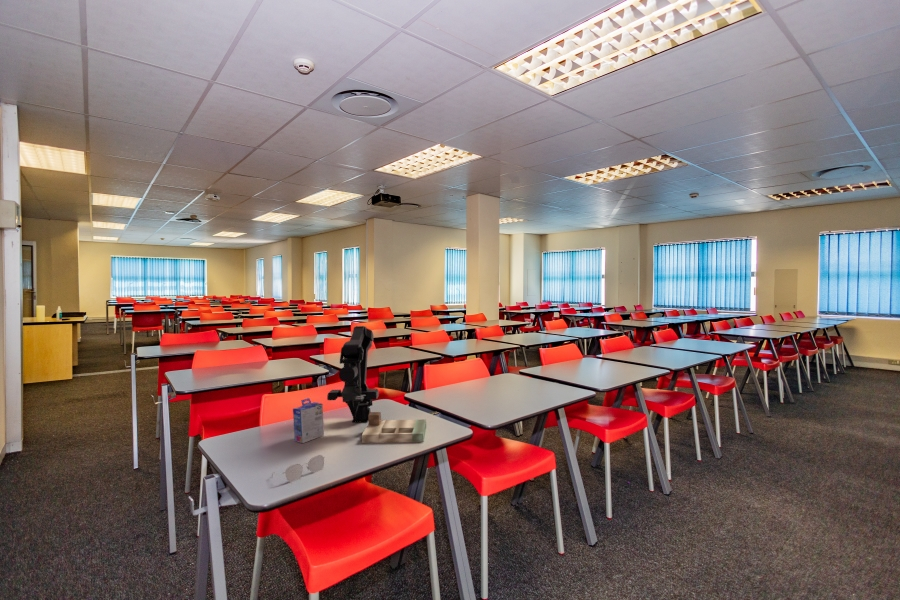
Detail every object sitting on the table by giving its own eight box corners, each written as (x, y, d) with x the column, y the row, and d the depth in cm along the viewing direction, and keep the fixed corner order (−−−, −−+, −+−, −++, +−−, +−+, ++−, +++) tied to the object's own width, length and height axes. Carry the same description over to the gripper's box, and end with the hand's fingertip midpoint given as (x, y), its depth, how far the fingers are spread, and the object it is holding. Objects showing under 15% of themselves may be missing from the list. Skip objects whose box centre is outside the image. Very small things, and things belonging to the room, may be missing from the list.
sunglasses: (285, 486, 120) (283, 468, 120) (270, 483, 125) (268, 466, 126) (326, 469, 131) (324, 452, 131) (311, 466, 136) (309, 451, 137)
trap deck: (362, 443, 151) (361, 434, 151) (370, 428, 167) (370, 420, 167) (423, 441, 151) (423, 433, 151) (426, 426, 167) (426, 419, 167)
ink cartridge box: (315, 432, 163) (314, 395, 163) (324, 435, 160) (323, 397, 159) (293, 440, 155) (291, 401, 154) (302, 443, 152) (301, 403, 151)
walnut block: (368, 425, 161) (368, 415, 161) (370, 422, 165) (370, 412, 165) (379, 425, 161) (378, 415, 161) (381, 422, 165) (380, 411, 165)
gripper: (322, 381, 154) (323, 423, 155) (373, 380, 154) (374, 422, 155) (330, 375, 166) (332, 414, 166) (378, 374, 165) (379, 413, 166)
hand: (354, 416), depth 163 cm, fingers closed
